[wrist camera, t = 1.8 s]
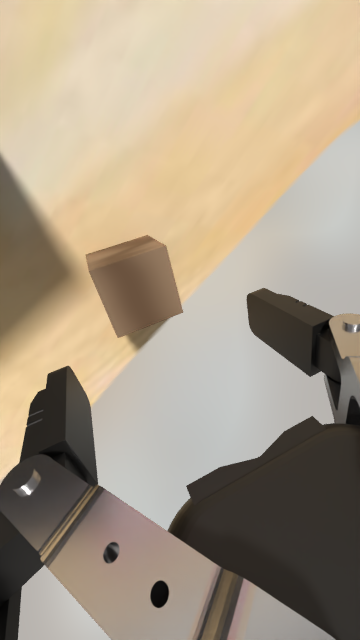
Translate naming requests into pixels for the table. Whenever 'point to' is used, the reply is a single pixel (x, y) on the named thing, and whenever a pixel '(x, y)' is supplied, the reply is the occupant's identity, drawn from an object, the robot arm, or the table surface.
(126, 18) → the table surface
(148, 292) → the walnut block
